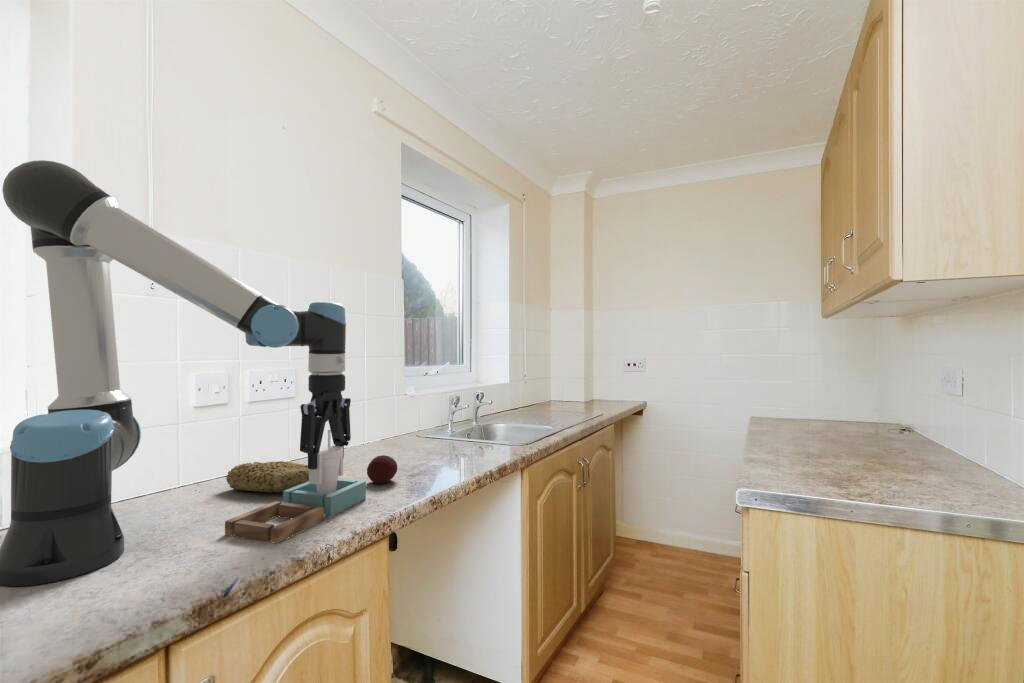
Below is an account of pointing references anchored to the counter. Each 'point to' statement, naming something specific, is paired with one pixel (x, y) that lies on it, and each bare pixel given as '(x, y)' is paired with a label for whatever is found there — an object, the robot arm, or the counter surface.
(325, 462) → the smoothie
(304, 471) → the sponge
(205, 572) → the counter surface
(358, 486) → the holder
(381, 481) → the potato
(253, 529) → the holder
